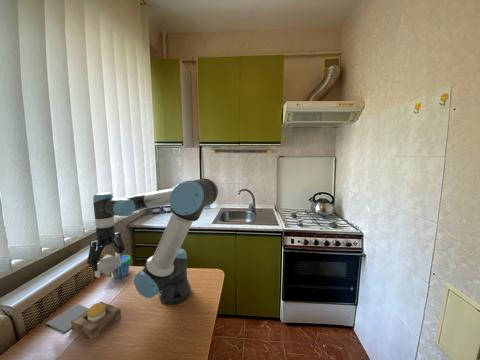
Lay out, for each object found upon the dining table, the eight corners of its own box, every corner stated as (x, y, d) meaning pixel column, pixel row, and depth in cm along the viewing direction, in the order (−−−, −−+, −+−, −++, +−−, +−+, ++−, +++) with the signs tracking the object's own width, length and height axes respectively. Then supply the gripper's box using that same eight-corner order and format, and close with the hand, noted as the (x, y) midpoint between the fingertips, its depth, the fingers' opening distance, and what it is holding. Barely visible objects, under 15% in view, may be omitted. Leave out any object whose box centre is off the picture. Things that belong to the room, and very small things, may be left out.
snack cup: (115, 285, 111) (113, 267, 110) (101, 280, 115) (100, 263, 114) (138, 270, 126) (138, 254, 125) (126, 267, 130) (125, 251, 129)
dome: (109, 318, 87) (108, 301, 87) (94, 329, 82) (93, 311, 81) (99, 314, 90) (98, 298, 89) (84, 324, 84) (83, 307, 83)
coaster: (95, 312, 92) (95, 310, 92) (64, 333, 81) (64, 331, 81) (77, 305, 96) (77, 303, 96) (46, 324, 85) (46, 323, 85)
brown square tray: (120, 317, 89) (120, 308, 89) (92, 339, 78) (91, 330, 78) (101, 309, 94) (100, 301, 93) (71, 330, 82) (71, 320, 82)
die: (123, 271, 102) (120, 251, 106) (111, 271, 94) (109, 249, 98) (107, 278, 101) (104, 258, 105) (93, 279, 93) (91, 257, 97)
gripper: (120, 218, 109) (123, 259, 112) (73, 232, 89) (78, 282, 91) (131, 220, 107) (133, 261, 109) (85, 235, 86) (89, 285, 88)
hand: (108, 270), depth 100 cm, fingers closed on die, 10 cm apart
